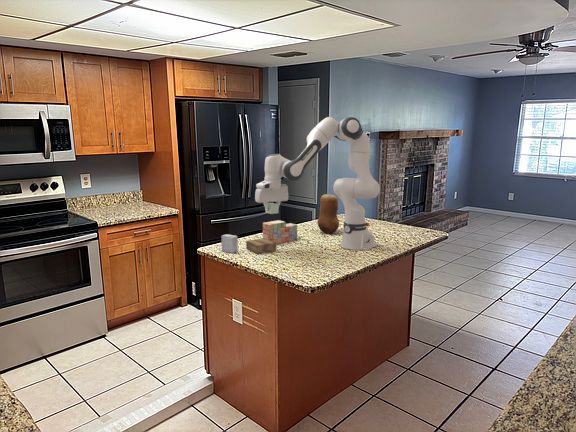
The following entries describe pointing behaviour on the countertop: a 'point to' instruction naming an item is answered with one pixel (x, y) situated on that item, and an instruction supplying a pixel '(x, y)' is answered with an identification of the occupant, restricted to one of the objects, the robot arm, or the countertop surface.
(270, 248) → the walnut block
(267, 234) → the stack of blocks
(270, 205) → the sage cube
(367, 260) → the countertop surface
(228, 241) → the medicine box
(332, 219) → the butternut squash
